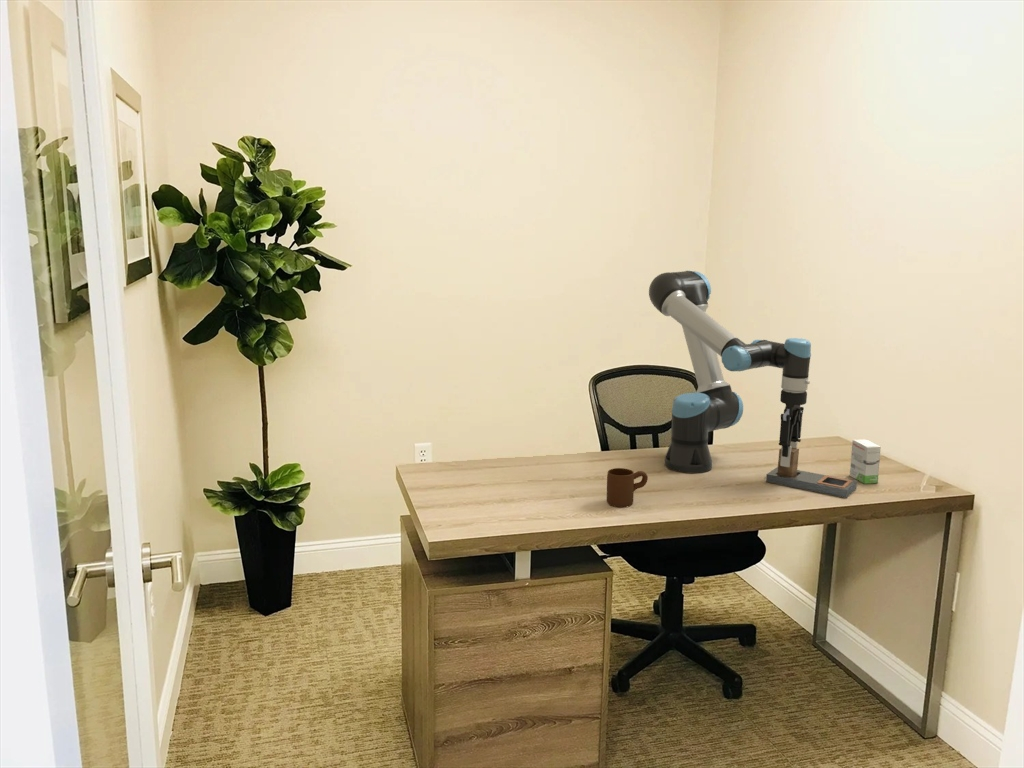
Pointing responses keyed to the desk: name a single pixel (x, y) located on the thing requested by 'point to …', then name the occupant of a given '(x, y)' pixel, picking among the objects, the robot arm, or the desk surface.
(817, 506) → the desk surface
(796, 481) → the grey socket board
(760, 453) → the desk surface
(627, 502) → the mug
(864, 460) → the ink box
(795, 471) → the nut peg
